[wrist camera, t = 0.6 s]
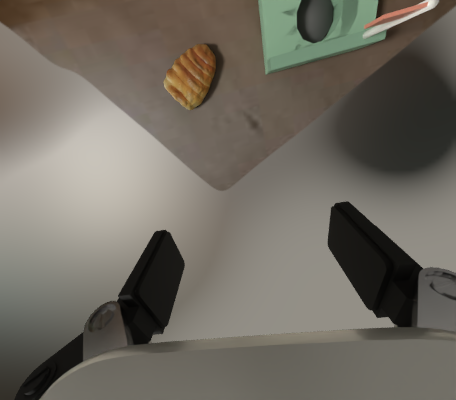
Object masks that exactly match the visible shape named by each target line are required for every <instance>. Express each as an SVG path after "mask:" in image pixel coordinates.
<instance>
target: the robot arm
mask: <svg viewBox="0 0 456 400" xmlns="http://www.w3.org/2000/svg"><path fill="white" fill-rule="evenodd" d="M328 247H329V249H330V251H331V252H332V254H333V255H334V257H335V258H336V260H337V262H338V263H339V265H340V266H341V268H342V269H343V271H344V272H345V274H346V276H347V277H348V279H349V280H350V282H351V283H352V285H353V287H354V288H355V290H356V291H357V293H358V295H359V296H360V298H361V299H362V301H363V302H364V304H365V305H366V307H367V308H368V309H369V310H372V311H373V312H374V314H375V315H376V317H377V318H381V317H389V318H390V319H391V321H392V322H393V323H394V324H395V325H394V327H392V328H372V329H371V328H370V329H350V330H333V331H317V332H301V333H286V334H271V335H257V336H243V337H228V338H214V339H200V340H186V341H173V342H161V343H152V342H151V338H152V335H154V334H163V332H164V328H165V327H166V326H167V325H168V322H169V319H170V316H171V312H172V308H173V305H174V301H175V298H176V295H177V291H178V287H179V284H180V281H181V277H182V274H183V270H184V266H185V265H184V260H183V258H182V256H181V254H180V252H179V250H178V248H177V246H176V244H175V242H174V240H173V238H172V236H171V234H170V233H169V232H167V231H166V230H161V231H156V232H155V233H154V234H153V236H152V238H151V240H150V241H149V243H148V245H147V247H146V248H145V250H144V252H143V253H142V255H141V257H140V259H139V260H138V262H137V264H136V266H135V267H134V269H133V271H132V273H131V274H130V276H129V278H128V279H127V281H126V283H125V285H124V286H123V288H122V290H121V292H120V293H119V295H118V297H119V299H118V300H117V302H116V301H109V302H106V303H104V304H102V305H101V306H99V307H98V308H97V309H96V310H95V311H94V312H93V313H92V314H91V315H90V317H89V318H88V319H87V321H86V323H85V325H84V330H83V333H82V334H80V335H79V336H78V337H76V338H75V339H74V340H72V341H71V342H70V343H68V344H67V345H66V346H65V347H63V348H62V349H61V350H59V351H58V352H57V353H55V354H54V355H53V356H51V357H50V358H49V359H48V360H46V361H45V362H44V363H42V364H41V365H40V366H39V367H38V368H36V369H35V370H34V371H33V372H32V373H31V374H30V375H29V377H28V378H27V379H26V380H25V382H24V383H23V384H22V386H21V387H20V389H19V391H18V393H17V394H16V397H15V400H456V273H454V272H452V271H449V270H445V269H441V268H433V267H430V268H425V269H423V268H422V267H421V266H420V265H419V264H418V263H416V262H415V261H414V260H413V259H412V258H411V257H410V256H409V255H408V254H406V253H405V252H404V251H403V250H402V249H401V248H400V247H399V246H398V245H397V244H395V243H394V242H393V241H392V240H391V239H390V238H389V237H388V236H386V235H385V234H384V233H383V232H382V231H381V230H380V229H379V228H378V227H377V226H375V225H374V224H373V223H371V222H370V221H369V220H368V219H367V218H366V217H365V216H364V215H363V214H362V213H360V212H359V211H358V210H357V209H356V208H355V207H354V206H353V205H352V204H350V203H349V202H341V203H336V204H335V205H334V206H333V207H332V208H331V216H330V224H329V234H328Z"/></svg>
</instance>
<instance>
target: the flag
mask: <svg viewBox="0 0 456 400" xmlns="http://www.w3.org/2000/svg"><path fill="white" fill-rule="evenodd" d="M438 2H439V0H426V1H424V2H422V3H420V4H418V5H415V6H412V7H409V8H405V9H402V10H399V11H395V12H392V13H388V14H385V15H382V16H381V17H379V18H377V19H375V20H373V21H372V22H370V23H368V24H366V25H364V29H367V28H370V27H373V28H371V29H369V30H367V31H365V32H364V33H363V38H364V39H366V38H368V37H371V36H373V35H375V34H377V33H379V32H382V31H384V30H386V29H388V28H390V27H393V26H395V25H397V24H399V23H401V22H404V21H406V20H408V19H410V18H412V17H415V16H417V15H419V14H421V13H423V12H426V11H428V10H430V9H432V8H434V7H435V6H436V5H437V4H438ZM374 26H375V27H374Z"/></svg>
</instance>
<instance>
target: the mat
mask: <svg viewBox="0 0 456 400" xmlns="http://www.w3.org/2000/svg"><path fill="white" fill-rule="evenodd" d="M258 1H259V12H260V22H261V32H262V42H263V52H264V62H265V72H266V74H270V73H274V72H277V71H281V70H284V69H288V68H292V67H295V66H299V65H303V64H306V63H310V62H313V61H317V60H321V59H324V58H328V57H332V56H335V55H339V54H342V53H346V52H350V51H353V50H357V49H361V48H363V47H366V46H368V45H371V44H373V43H376V42H378V41H381V40H384V39H385V36H386V30H387V29H386V30H384V31H382V32H379V33H377V34H375V35H373V36H371V37H368V38H366V39H364V38H363V33H364V32H365V31H367V30H369V29H371V28H373V27H370V28H367V29H364V25H366V24H368V23H370V22H372V21H373V20H375V19H376V13H377V5H378V0H302V1H301V0H258ZM332 4H333V5H332ZM333 6H334V10H333ZM332 20H333V23H332ZM331 23H332V25H331ZM330 26H331V27H330ZM374 27H375V26H374ZM328 31H329V32H328ZM327 32H328V34H327ZM326 34H327V36H326V37H325V35H326ZM324 37H325V38H324ZM323 38H324V39H323ZM322 39H323V40H322ZM321 40H322V41H321Z"/></svg>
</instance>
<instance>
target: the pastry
mask: <svg viewBox="0 0 456 400" xmlns="http://www.w3.org/2000/svg"><path fill="white" fill-rule="evenodd" d="M215 69H216V58H215V55H214V54H213V52H212V51H211V50H210V49H209V47H208V46H207V45H206V44H197V45H196V46H194V47H193V48H190V49H188V50H187V51H186V52H185V53H184V54H182V55H181V56H180V58H178V59H176V60H175V62H174V65H173V66H172V68H171V69H169V70H168V71H167V75H166V79H165V80H164V86H165V88H166V89H167V91H168V92H169V93H170V94H171V95H172V96H173V97H174V99H175V100H177V101H178V102H180V103H181V105H183V106H184V107H185V108H186V109H188V110H193V109H194V108H195V107H197V106H198V105H200V104H201V103H202V101H203V99H204V97H205V95H206V94H207V93H208V90H209V87H210V84H211V82H212V79H213V77H214V74H215Z"/></svg>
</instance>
